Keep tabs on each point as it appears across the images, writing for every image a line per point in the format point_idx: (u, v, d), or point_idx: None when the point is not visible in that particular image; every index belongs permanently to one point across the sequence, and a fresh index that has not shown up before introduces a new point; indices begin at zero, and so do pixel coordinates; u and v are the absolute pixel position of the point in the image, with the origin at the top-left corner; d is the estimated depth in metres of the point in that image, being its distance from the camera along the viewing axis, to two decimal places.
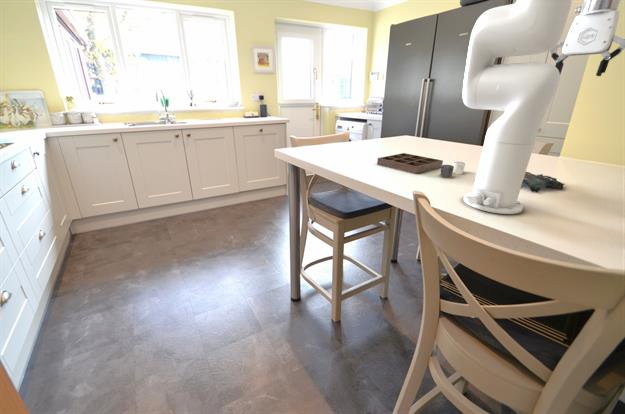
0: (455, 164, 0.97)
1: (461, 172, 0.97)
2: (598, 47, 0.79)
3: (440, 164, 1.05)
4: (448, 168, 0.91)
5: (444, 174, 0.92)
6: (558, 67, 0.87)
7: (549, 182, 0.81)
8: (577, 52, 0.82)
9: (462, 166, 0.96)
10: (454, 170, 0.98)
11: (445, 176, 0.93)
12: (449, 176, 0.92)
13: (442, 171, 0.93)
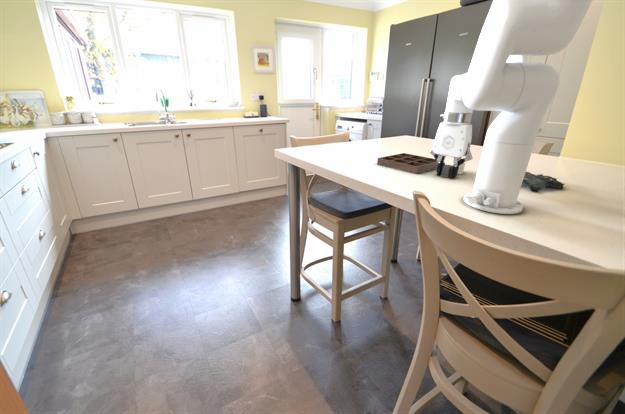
0: None
1: (461, 172, 0.97)
2: (456, 153, 0.87)
3: None
4: (448, 168, 0.91)
5: (444, 174, 0.92)
6: (439, 168, 0.94)
7: (549, 182, 0.81)
8: (442, 154, 0.90)
9: (462, 166, 0.96)
10: None
11: (445, 176, 0.93)
12: None
13: (442, 171, 0.93)
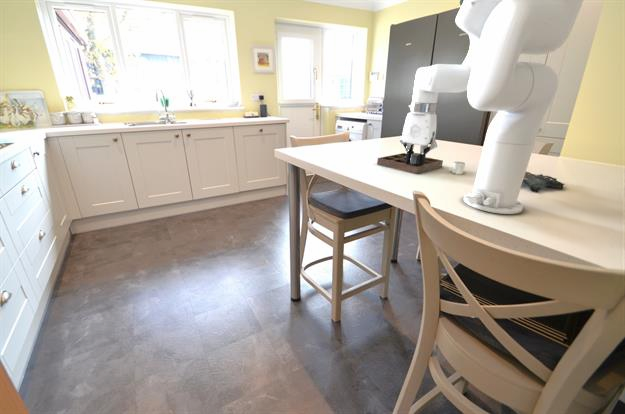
0: (455, 164, 0.97)
1: (461, 172, 0.97)
2: (422, 141, 0.92)
3: (440, 164, 1.05)
4: (416, 156, 0.97)
5: (412, 161, 0.98)
6: (407, 156, 0.99)
7: (549, 182, 0.81)
8: (410, 142, 0.96)
9: (462, 166, 0.96)
10: (454, 170, 0.98)
11: (413, 164, 0.98)
12: None
13: (410, 159, 0.98)
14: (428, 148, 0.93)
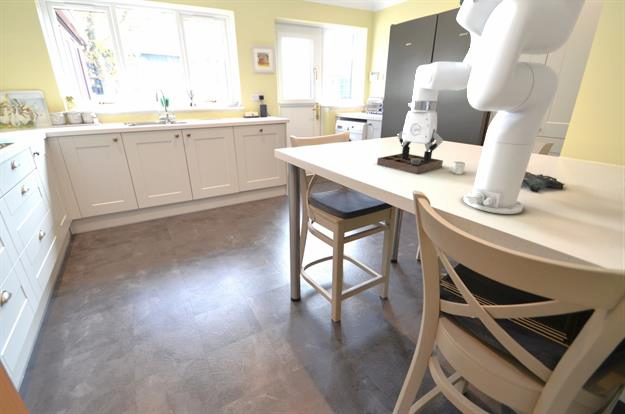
0: (455, 164, 0.97)
1: (461, 172, 0.97)
2: (422, 140, 0.92)
3: (440, 164, 1.05)
4: (415, 161, 0.97)
5: None
6: (403, 151, 1.00)
7: (549, 182, 0.81)
8: (410, 141, 0.95)
9: (462, 166, 0.96)
10: (454, 170, 0.98)
11: None
12: None
13: (410, 164, 0.99)
14: None
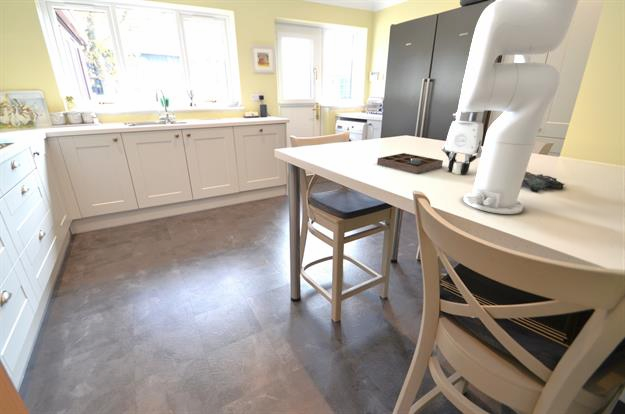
0: (455, 164, 0.97)
1: None
2: (468, 150, 0.92)
3: (440, 164, 1.05)
4: (415, 161, 0.97)
5: None
6: (450, 164, 0.98)
7: (549, 182, 0.81)
8: (454, 151, 0.95)
9: None
10: (454, 170, 0.98)
11: None
12: None
13: (410, 164, 0.99)
14: (474, 157, 0.93)
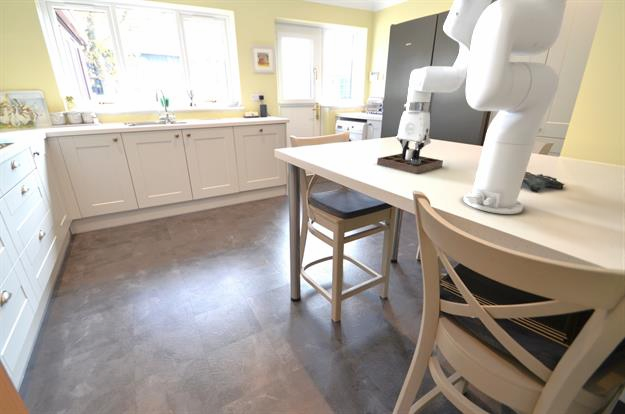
0: (407, 151, 1.05)
1: None
2: (416, 138, 0.99)
3: (440, 164, 1.05)
4: (415, 161, 0.97)
5: None
6: (403, 151, 1.06)
7: (549, 182, 0.81)
8: (405, 139, 1.03)
9: None
10: (406, 157, 1.05)
11: None
12: None
13: (410, 164, 0.99)
14: (422, 144, 1.00)
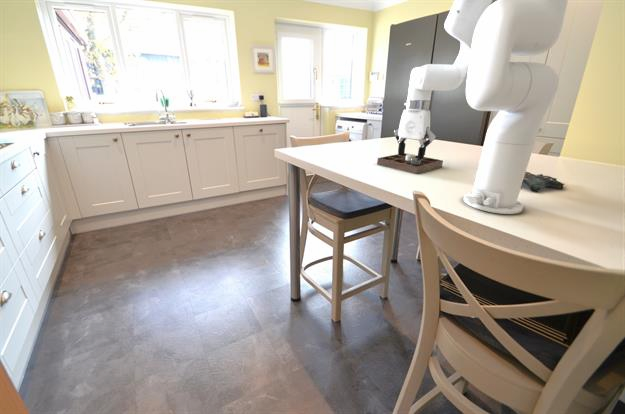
0: (407, 156, 1.05)
1: None
2: (417, 136, 0.99)
3: (440, 164, 1.05)
4: (415, 161, 0.97)
5: None
6: (399, 147, 1.07)
7: (549, 182, 0.81)
8: (406, 137, 1.03)
9: None
10: None
11: None
12: None
13: (410, 164, 0.99)
14: None
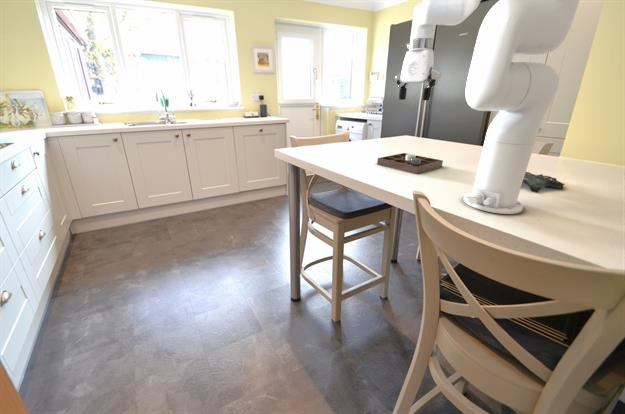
0: (407, 156, 1.05)
1: None
2: (420, 77, 0.97)
3: (440, 164, 1.05)
4: (415, 161, 0.97)
5: None
6: (400, 92, 1.05)
7: (549, 182, 0.81)
8: (408, 81, 1.00)
9: None
10: None
11: None
12: None
13: (410, 164, 0.99)
14: None
